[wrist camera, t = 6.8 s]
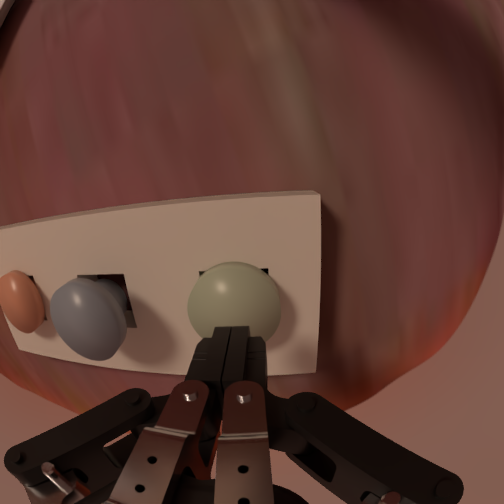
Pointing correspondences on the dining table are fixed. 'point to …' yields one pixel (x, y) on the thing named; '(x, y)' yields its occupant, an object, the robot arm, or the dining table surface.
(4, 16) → the salad plate
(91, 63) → the dining table surface
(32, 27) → the dining table surface
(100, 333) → the slate button
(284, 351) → the button panel
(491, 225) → the dining table surface
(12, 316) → the terracotta button
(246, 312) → the sage button
